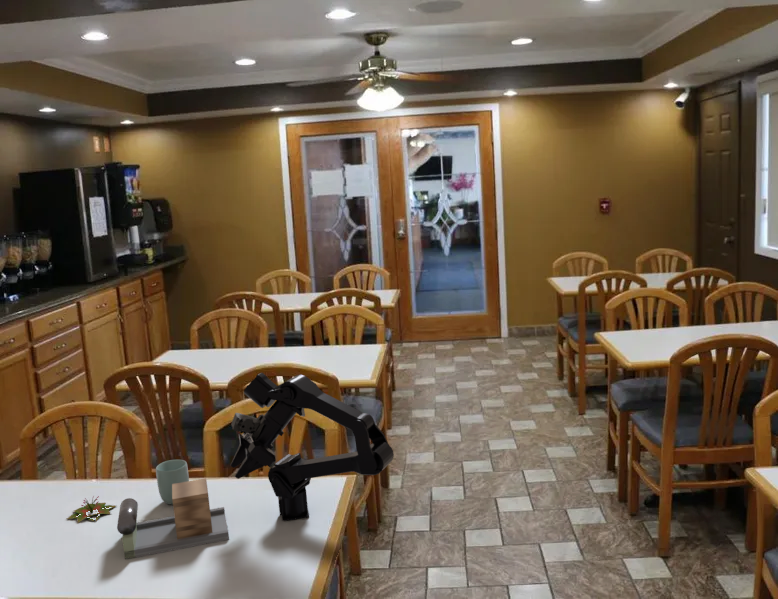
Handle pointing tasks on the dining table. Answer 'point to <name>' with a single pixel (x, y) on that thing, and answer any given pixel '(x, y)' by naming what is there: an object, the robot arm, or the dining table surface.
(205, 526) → the brown wooden block
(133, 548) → the bay
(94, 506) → the lily flower
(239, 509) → the dining table surface
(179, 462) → the cup
